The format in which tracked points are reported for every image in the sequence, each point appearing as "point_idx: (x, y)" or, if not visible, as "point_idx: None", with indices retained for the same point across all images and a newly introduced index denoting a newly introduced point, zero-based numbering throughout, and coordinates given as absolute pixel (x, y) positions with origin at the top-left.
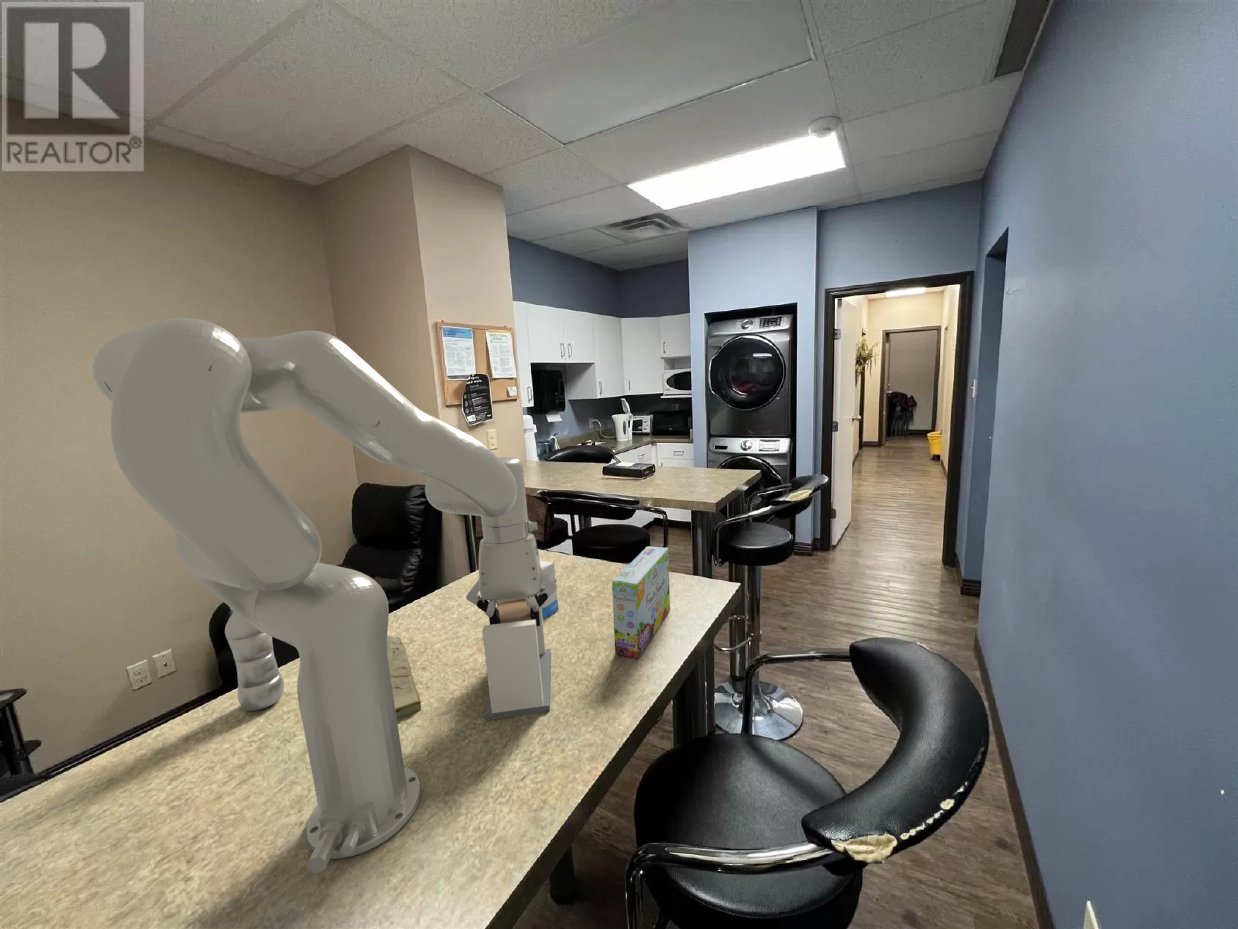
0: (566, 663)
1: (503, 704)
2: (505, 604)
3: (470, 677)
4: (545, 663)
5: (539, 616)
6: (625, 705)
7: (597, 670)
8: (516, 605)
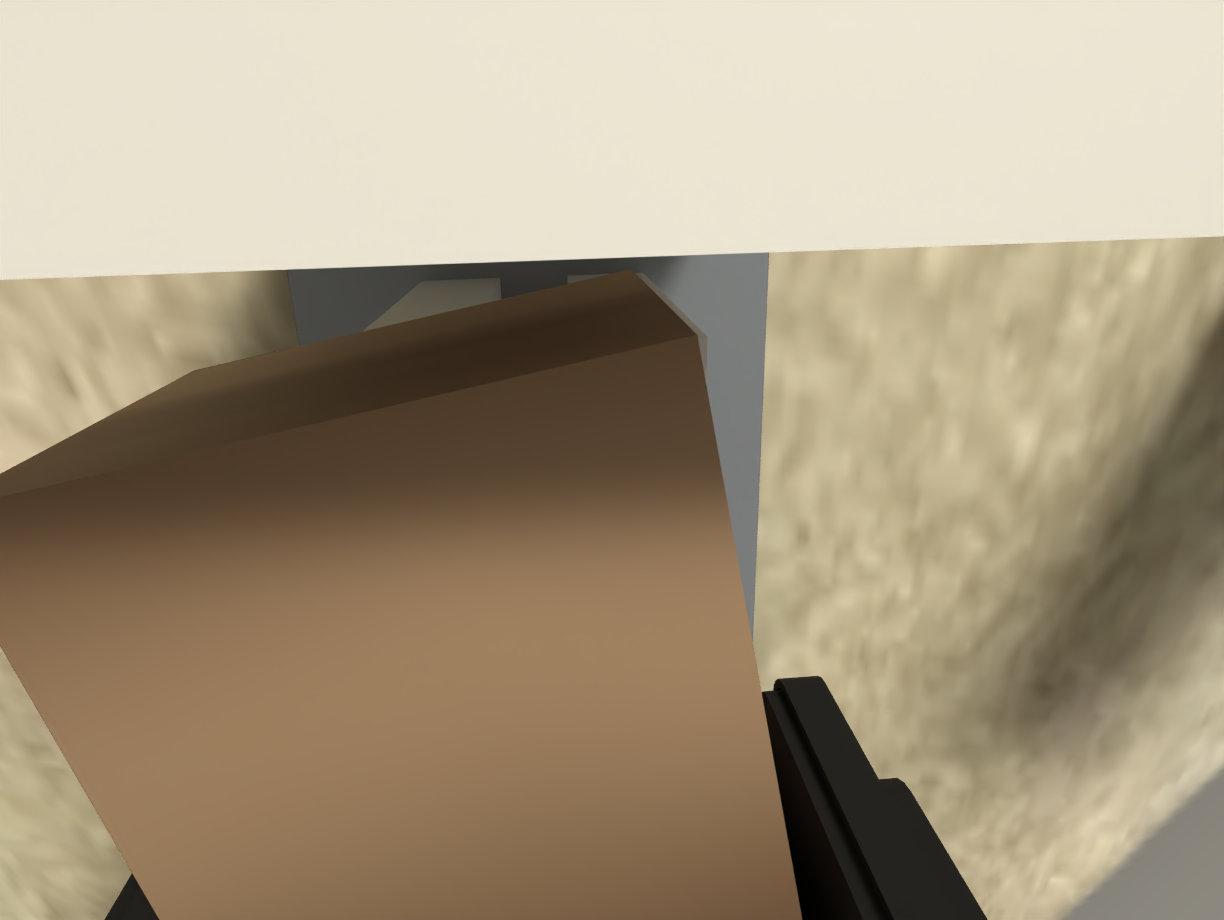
0: (878, 294)
1: None
2: (199, 589)
3: (102, 348)
4: (726, 348)
5: (940, 855)
6: (1128, 757)
7: (1078, 429)
8: (515, 687)
